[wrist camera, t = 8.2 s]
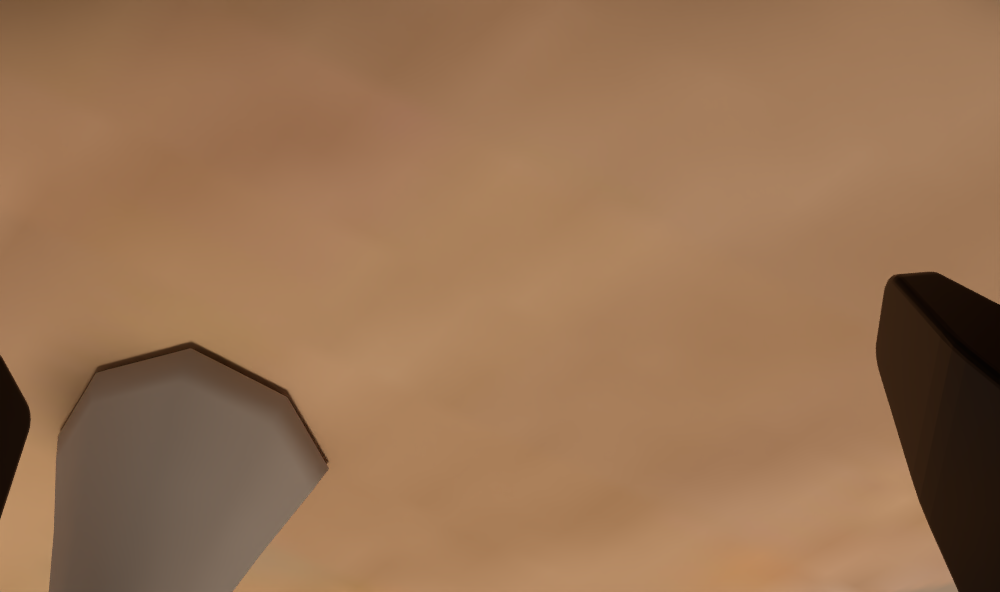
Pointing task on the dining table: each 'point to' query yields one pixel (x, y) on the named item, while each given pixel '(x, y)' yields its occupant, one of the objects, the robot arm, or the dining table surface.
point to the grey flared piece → (175, 477)
